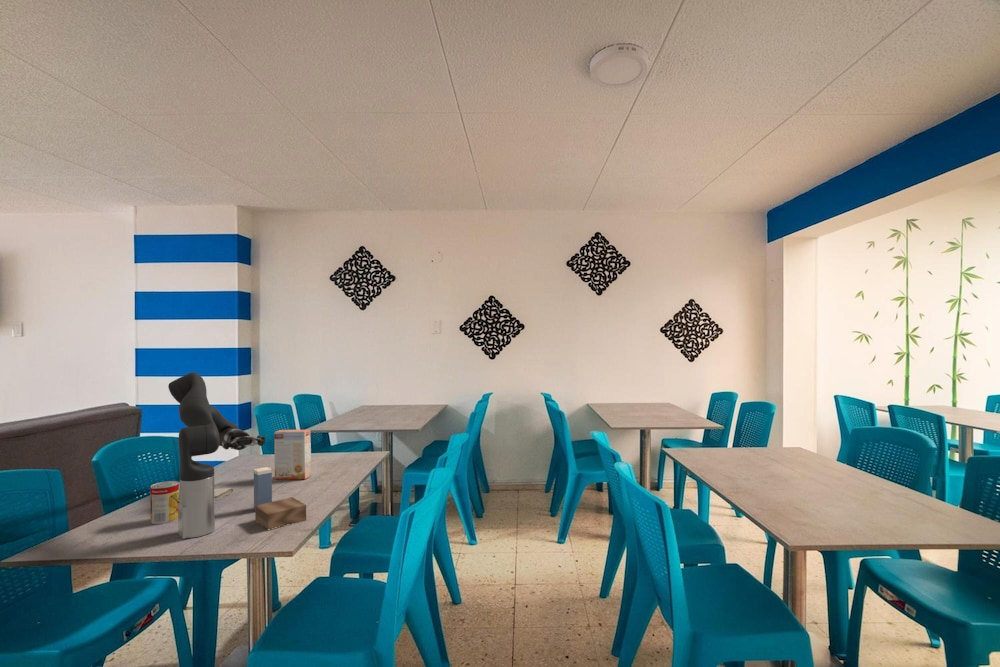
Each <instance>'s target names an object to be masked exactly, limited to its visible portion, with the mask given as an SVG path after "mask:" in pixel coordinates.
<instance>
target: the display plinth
mask: <svg viewBox="0 0 1000 667" xmlns="http://www.w3.org/2000/svg"><path fill="white" fill-rule="evenodd" d="M254 510H255V518H254V519H255V520H256V521H257V522H256V521H255V522H256V523H258V522H259V523H260V524H261V525H260V524H259V523H258V524H259V525H260V526H262V525H263V526H264V527H265V528H264V527H263V526H262V527H263V528H264V529H266V528H267V529H272V528H275V527H279V526H283V525H287V524H290V525H293V524H292V523H294V524H297V523H300V521H301V522H305V521H307V504H305V503H303V502H301V501H300V500H298V499H297V498H295V497H286V498H283V499H282V498H281V499H278V500H272V502H269V503H265V504H261V505H256V506H255V509H254ZM304 520H305V521H304ZM296 522H297V523H296ZM287 526H288V525H287ZM283 527H284V526H283ZM279 528H280V527H279ZM267 529H266V530H267ZM272 530H273V529H272Z"/></svg>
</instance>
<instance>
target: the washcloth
mask: <svg viewBox="0 0 1000 667" xmlns="http://www.w3.org/2000/svg"><path fill="white" fill-rule="evenodd" d="M232 492H233V493H234V488H230V487H227V488H226V487H225V488H214V501H216V500H218V499H220V498H222V497H224V496H226V495H228V494H230V493H232ZM233 493H232V494H233ZM230 495H231V494H230ZM228 496H229V495H228ZM226 497H227V496H226ZM224 498H225V497H224ZM222 499H223V498H222ZM220 500H221V499H220ZM218 501H219V500H218ZM216 502H217V501H216ZM179 503H180V499H179Z"/></svg>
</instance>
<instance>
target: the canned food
mask: <svg viewBox="0 0 1000 667" xmlns="http://www.w3.org/2000/svg"><path fill="white" fill-rule="evenodd" d="M149 490H150V504H149V505H150V524H151V523H152V525H163V523H165V524H168V522H169V523H172V522H171V521H173V522H175V521H177V520H178V503H179V500H180V481H178V480H167V481H162V482H161V481H160V482H156V483H154V484H151V485H150V489H149ZM176 519H177V520H176ZM174 520H175V521H174Z"/></svg>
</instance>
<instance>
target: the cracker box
mask: <svg viewBox="0 0 1000 667" xmlns="http://www.w3.org/2000/svg"><path fill="white" fill-rule="evenodd" d="M311 435H312V434H311V429H280V430H276V431H274V436H273V437H274V438H273V440H274V442H273V443H274V447H273V448H274V449H273V450H274V480H301V479H304V480H307V479H308V478H310V477H311V476H312V454H311V453H312V448H311V447H312V446H311V444H312V443H311V441H312V440H311Z"/></svg>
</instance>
